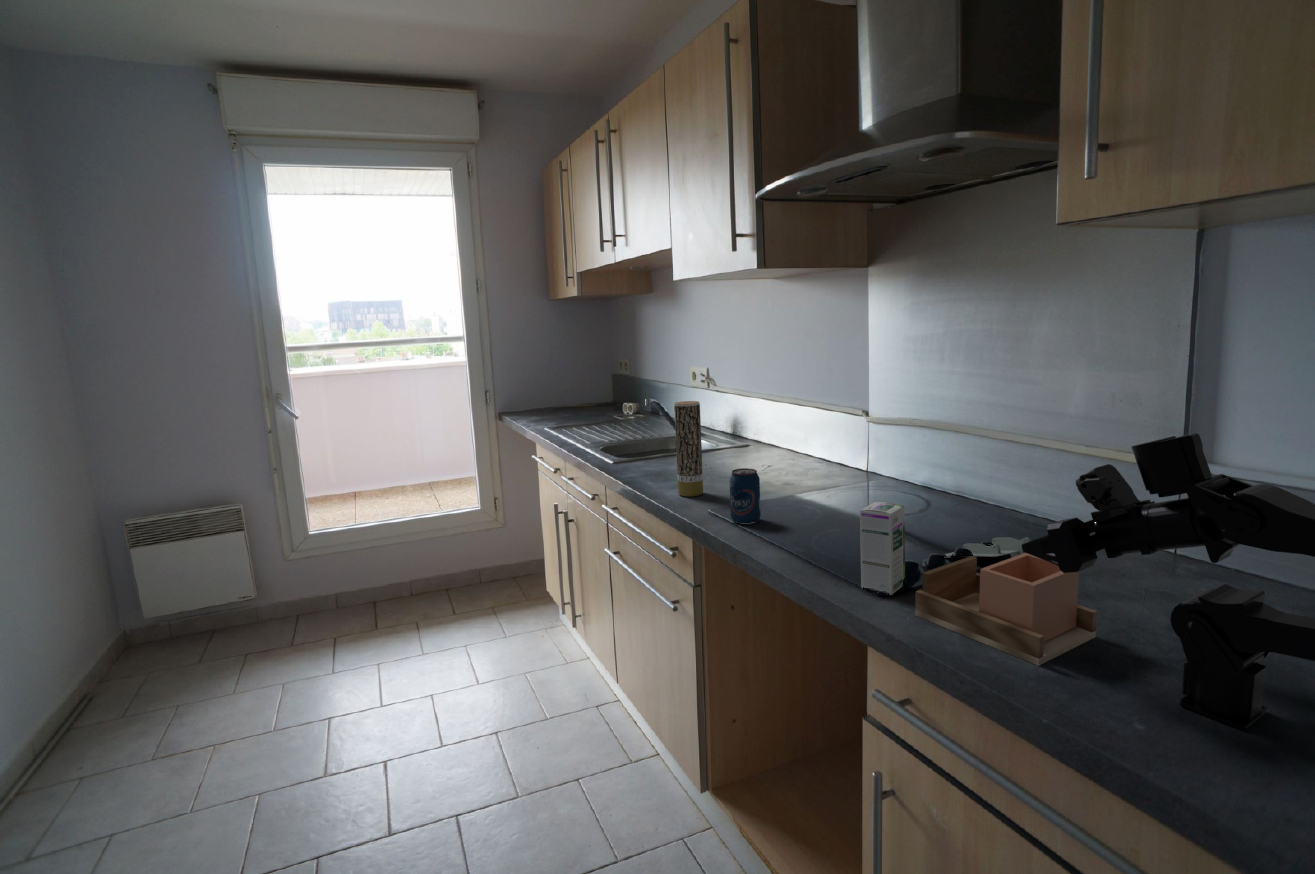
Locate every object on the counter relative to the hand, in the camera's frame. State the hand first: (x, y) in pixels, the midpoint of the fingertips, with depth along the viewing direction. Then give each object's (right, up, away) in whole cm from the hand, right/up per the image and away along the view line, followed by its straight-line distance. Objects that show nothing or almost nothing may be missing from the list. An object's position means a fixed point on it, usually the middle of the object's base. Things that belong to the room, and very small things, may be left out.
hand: (1042, 541), depth 100 cm
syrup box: (-15, -12, +24) cm, 31 cm away
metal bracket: (+10, -9, +34) cm, 37 cm away
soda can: (-33, -5, +66) cm, 74 cm away
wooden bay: (-2, -14, +7) cm, 16 cm away
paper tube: (-45, -1, +93) cm, 103 cm away
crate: (0, -13, +4) cm, 14 cm away
